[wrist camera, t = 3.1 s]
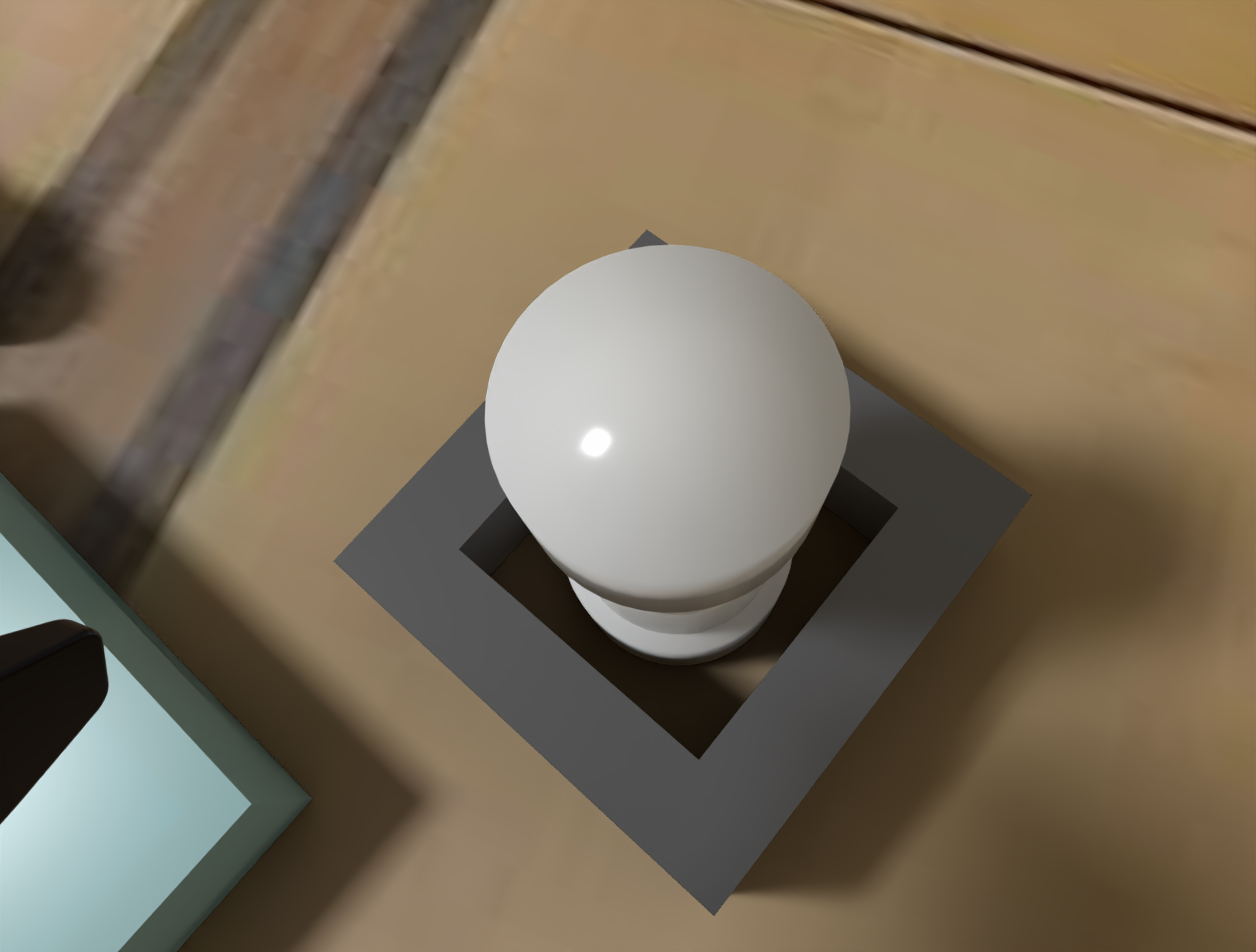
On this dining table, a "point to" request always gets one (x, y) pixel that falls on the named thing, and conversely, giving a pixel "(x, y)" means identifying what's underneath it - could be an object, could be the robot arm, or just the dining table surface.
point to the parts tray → (126, 778)
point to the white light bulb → (669, 441)
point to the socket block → (779, 706)
